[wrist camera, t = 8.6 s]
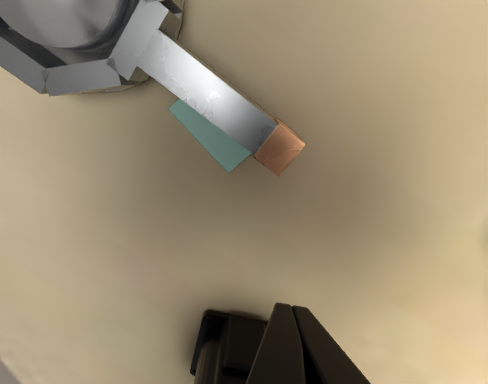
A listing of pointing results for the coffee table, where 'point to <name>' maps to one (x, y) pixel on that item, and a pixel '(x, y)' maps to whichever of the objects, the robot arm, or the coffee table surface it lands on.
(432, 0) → the coffee table surface
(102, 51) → the grey metal bowl
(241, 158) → the align mark
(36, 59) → the grey octagonal frying pan
